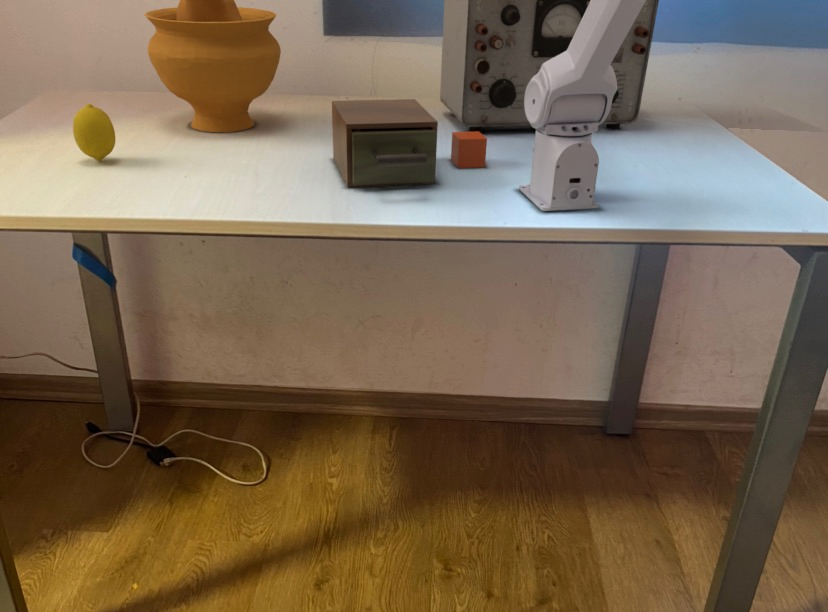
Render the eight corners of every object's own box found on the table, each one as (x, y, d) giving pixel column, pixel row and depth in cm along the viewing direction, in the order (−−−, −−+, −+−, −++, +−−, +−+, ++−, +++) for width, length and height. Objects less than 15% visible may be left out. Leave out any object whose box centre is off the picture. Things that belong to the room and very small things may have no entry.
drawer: (443, 193, 105) (445, 141, 101) (359, 197, 103) (359, 144, 99) (413, 155, 119) (414, 109, 116) (339, 158, 117) (338, 111, 114)
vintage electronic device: (463, 138, 132) (474, -34, 118) (439, 112, 147) (446, -43, 133) (640, 134, 138) (670, -31, 124) (600, 109, 152) (622, -40, 139)
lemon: (78, 167, 113) (66, 109, 108) (81, 157, 117) (69, 100, 113) (119, 166, 114) (108, 107, 110) (120, 155, 118) (110, 99, 114)
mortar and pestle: (298, 135, 131) (287, -79, 114) (167, 144, 124) (135, -82, 107) (269, 107, 147) (256, -84, 130) (151, 114, 140) (122, -87, 124)
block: (485, 167, 118) (487, 138, 116) (458, 168, 118) (459, 139, 115) (477, 159, 122) (479, 131, 120) (450, 160, 121) (452, 132, 119)
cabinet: (435, 183, 111) (437, 121, 106) (347, 187, 109) (346, 124, 104) (413, 156, 122) (414, 99, 118) (333, 159, 120) (331, 100, 115)
